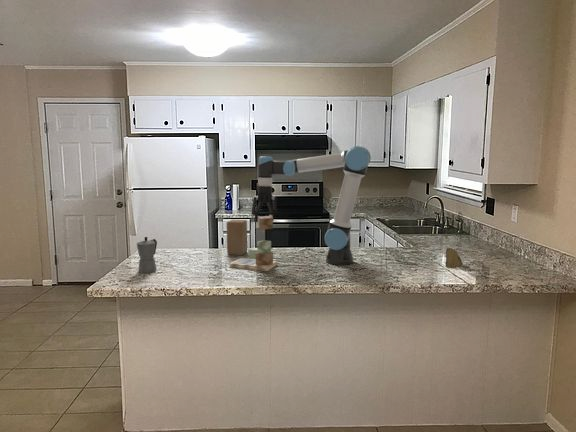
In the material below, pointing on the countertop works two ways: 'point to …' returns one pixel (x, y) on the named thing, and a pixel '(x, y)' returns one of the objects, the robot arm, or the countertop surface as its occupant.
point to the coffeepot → (147, 255)
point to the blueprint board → (251, 264)
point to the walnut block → (265, 223)
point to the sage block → (252, 253)
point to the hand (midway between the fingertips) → (264, 227)
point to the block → (236, 237)
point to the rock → (452, 258)
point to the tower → (264, 253)
